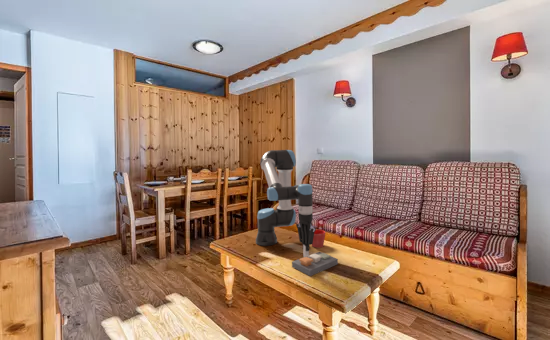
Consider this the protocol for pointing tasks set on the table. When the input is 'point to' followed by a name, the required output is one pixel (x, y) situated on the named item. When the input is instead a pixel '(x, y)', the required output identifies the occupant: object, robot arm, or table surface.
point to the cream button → (315, 257)
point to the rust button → (306, 261)
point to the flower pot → (318, 238)
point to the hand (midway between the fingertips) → (306, 256)
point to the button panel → (315, 265)
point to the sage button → (324, 255)
